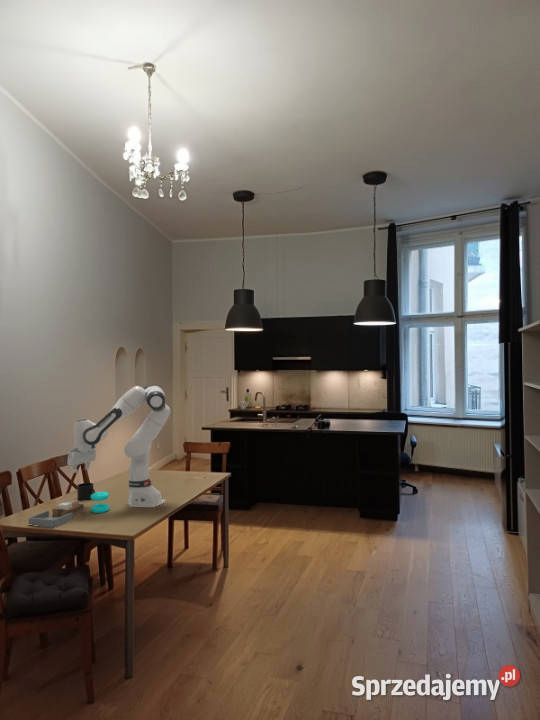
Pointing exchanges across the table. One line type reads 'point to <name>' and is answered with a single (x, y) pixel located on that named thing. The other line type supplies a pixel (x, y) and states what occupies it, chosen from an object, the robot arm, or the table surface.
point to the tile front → (65, 505)
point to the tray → (49, 520)
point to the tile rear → (73, 502)
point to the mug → (85, 491)
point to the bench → (68, 511)
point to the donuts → (101, 507)
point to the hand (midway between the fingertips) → (81, 470)
